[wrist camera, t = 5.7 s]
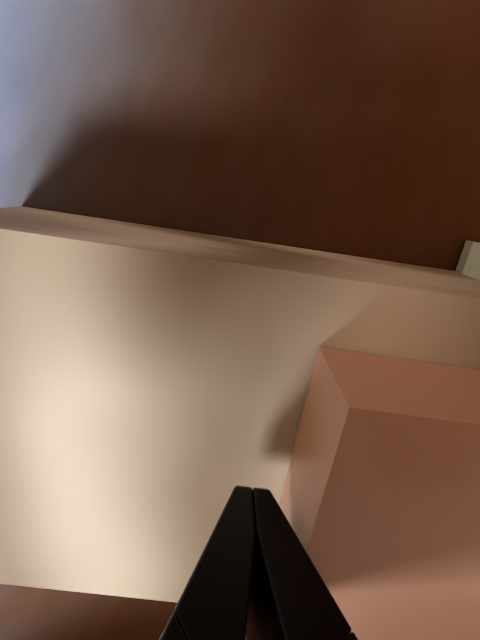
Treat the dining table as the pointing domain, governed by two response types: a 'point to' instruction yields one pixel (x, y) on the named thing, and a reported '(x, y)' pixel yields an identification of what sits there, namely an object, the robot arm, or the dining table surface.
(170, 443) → the birch step
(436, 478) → the pink block
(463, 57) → the dining table surface
